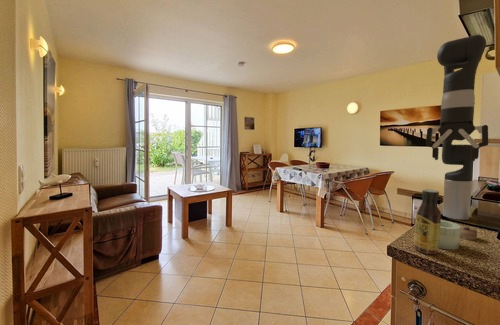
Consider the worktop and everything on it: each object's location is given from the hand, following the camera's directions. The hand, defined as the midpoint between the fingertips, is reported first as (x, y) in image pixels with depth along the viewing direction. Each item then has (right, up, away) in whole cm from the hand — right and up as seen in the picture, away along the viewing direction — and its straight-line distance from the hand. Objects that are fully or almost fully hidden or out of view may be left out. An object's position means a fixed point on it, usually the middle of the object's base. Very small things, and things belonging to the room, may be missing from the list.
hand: (453, 160), depth 71 cm
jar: (+2, -29, +7) cm, 30 cm away
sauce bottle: (-7, -29, +2) cm, 30 cm away
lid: (+16, -28, +13) cm, 34 cm away
